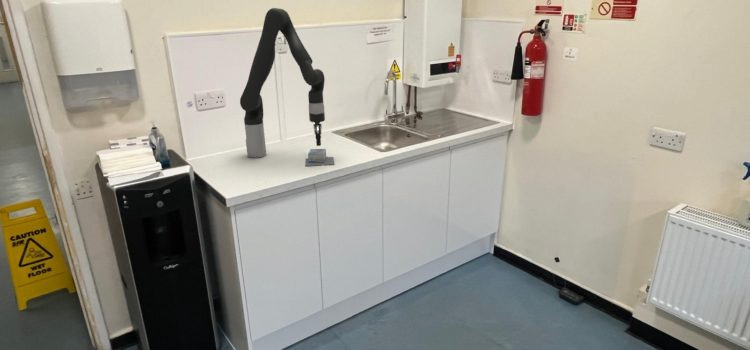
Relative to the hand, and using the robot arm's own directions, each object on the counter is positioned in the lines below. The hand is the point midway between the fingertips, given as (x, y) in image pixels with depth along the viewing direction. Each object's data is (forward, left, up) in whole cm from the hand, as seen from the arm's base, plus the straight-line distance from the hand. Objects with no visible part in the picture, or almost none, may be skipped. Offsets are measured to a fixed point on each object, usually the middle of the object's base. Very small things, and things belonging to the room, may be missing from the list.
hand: (318, 145), depth 232 cm
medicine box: (0, +2, -4) cm, 5 cm away
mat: (0, -5, -7) cm, 9 cm away
